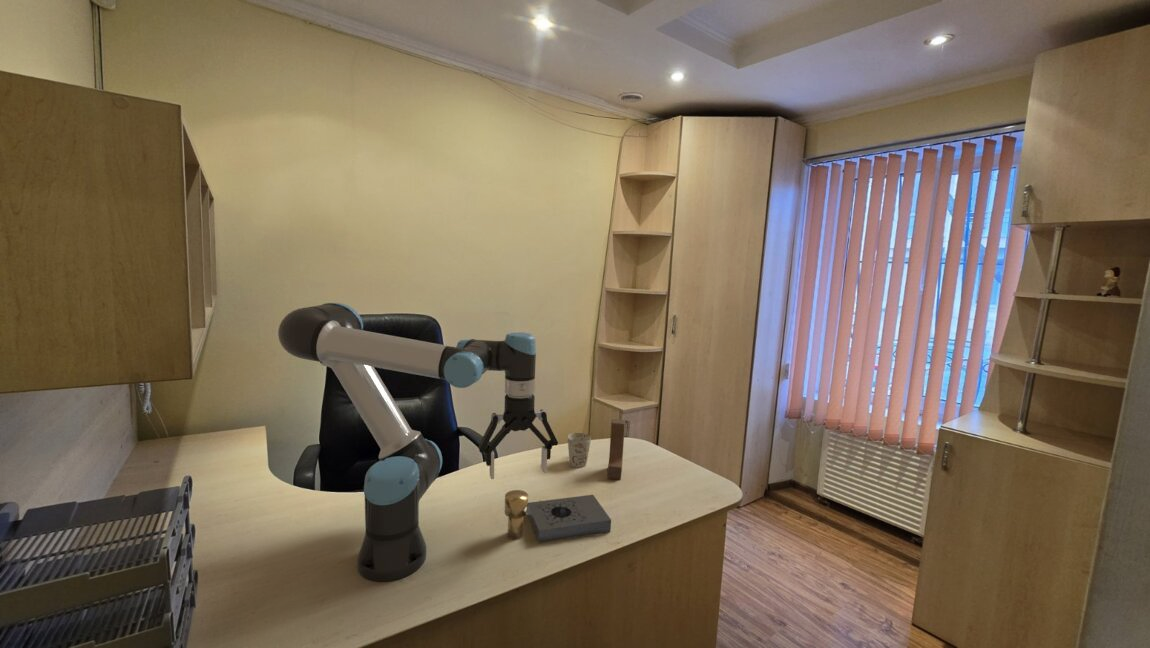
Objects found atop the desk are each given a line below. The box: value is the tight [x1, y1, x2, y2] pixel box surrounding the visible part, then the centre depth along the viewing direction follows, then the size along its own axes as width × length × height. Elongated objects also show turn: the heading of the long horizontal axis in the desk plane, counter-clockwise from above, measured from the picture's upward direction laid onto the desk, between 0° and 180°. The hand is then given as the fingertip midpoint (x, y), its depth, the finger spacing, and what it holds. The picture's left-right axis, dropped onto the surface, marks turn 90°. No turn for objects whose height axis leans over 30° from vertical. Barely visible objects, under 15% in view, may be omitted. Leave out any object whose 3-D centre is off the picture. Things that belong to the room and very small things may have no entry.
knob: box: [504, 489, 529, 540], centre depth 123 cm, size 6×6×11 cm
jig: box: [526, 494, 612, 544], centre depth 130 cm, size 20×14×4 cm
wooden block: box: [607, 418, 626, 480], centre depth 160 cm, size 9×4×18 cm, turn 172°
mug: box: [567, 432, 592, 468], centre depth 169 cm, size 8×13×10 cm, turn 171°
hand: (518, 473), depth 121 cm, fingers open, 13 cm apart
